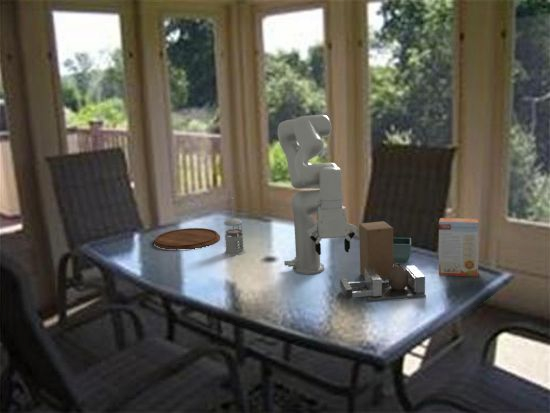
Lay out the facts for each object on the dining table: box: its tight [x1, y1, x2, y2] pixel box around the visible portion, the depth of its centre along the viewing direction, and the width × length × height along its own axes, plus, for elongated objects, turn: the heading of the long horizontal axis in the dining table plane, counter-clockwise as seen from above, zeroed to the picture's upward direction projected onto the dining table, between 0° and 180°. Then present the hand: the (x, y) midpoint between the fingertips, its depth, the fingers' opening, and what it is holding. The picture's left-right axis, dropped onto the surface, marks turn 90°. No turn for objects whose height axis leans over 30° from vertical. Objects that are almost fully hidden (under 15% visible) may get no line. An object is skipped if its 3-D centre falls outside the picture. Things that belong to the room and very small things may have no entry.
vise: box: [358, 264, 427, 303], centre depth 212 cm, size 20×14×7 cm
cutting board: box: [153, 227, 221, 250], centre depth 291 cm, size 32×32×3 cm
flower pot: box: [393, 237, 412, 265], centre depth 243 cm, size 9×9×9 cm
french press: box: [223, 197, 247, 257], centre depth 267 cm, size 10×12×25 cm
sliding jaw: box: [339, 268, 383, 299], centre depth 212 cm, size 12×12×6 cm
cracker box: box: [438, 217, 480, 278], centre depth 226 cm, size 14×6×21 cm, turn 71°
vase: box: [387, 264, 408, 291], centre depth 212 cm, size 7×7×9 cm
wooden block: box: [358, 220, 394, 281], centre depth 227 cm, size 10×10×20 cm
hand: (332, 252), depth 208 cm, fingers open, 9 cm apart
